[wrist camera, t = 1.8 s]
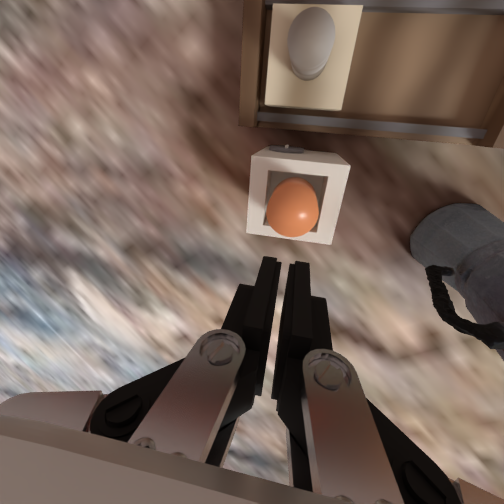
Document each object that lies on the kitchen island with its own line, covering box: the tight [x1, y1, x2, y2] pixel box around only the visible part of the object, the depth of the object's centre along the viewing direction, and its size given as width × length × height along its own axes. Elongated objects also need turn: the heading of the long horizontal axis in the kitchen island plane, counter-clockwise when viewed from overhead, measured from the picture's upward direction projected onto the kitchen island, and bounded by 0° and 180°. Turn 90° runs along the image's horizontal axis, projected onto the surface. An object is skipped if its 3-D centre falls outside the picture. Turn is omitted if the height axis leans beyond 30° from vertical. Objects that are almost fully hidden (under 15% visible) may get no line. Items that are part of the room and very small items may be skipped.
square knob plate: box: [265, 3, 363, 111], centre depth 20 cm, size 7×7×9 cm
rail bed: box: [239, 0, 504, 148], centre depth 22 cm, size 24×11×4 cm, turn 87°
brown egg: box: [266, 177, 319, 237], centre depth 21 cm, size 4×4×4 cm
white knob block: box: [246, 145, 351, 245], centre depth 26 cm, size 8×8×10 cm
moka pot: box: [410, 203, 504, 360], centre depth 22 cm, size 10×15×20 cm, turn 92°
